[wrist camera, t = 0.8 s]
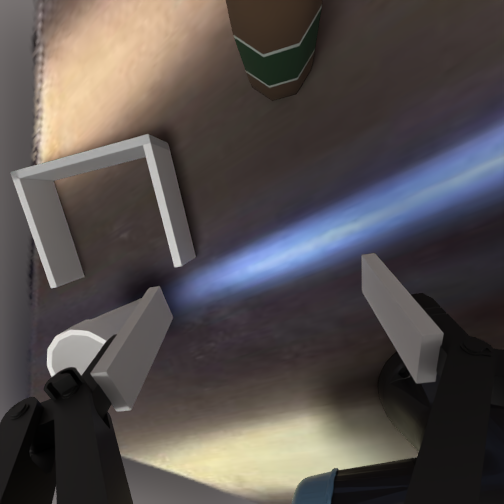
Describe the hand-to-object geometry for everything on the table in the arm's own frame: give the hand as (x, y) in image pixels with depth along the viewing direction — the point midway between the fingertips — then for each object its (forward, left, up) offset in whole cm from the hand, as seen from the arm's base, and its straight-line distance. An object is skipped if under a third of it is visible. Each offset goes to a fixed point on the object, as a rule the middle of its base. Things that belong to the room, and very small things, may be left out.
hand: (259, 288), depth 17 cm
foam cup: (-8, +22, -19) cm, 30 cm away
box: (+8, +22, -19) cm, 30 cm away
